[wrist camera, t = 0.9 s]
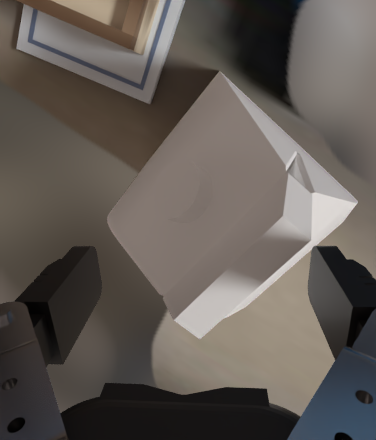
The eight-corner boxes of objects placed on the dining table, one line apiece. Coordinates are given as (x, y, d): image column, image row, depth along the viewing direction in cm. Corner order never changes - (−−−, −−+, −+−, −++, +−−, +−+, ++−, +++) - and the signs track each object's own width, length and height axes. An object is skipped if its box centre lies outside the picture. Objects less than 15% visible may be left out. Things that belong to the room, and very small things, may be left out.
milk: (224, 224, 39) (240, 439, 15) (147, 161, 37) (24, 294, 13) (300, 146, 35) (485, 269, 11) (219, 70, 33) (233, 21, 9)
